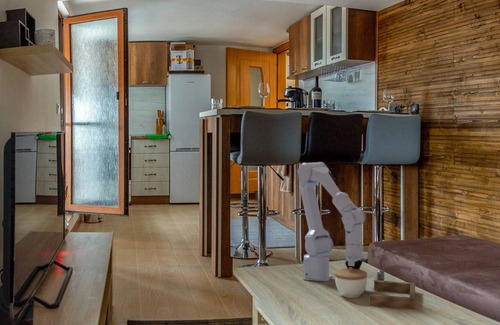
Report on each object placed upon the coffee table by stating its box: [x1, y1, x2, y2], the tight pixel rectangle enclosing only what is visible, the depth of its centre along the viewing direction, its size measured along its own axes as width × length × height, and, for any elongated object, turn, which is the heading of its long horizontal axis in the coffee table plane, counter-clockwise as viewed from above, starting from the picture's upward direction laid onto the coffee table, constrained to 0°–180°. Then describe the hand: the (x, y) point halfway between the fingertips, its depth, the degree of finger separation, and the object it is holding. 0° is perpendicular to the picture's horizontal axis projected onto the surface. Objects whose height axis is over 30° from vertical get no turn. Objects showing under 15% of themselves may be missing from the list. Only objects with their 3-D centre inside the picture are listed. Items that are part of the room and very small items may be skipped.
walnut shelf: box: [369, 279, 416, 310], centre depth 164 cm, size 14×18×3 cm
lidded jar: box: [334, 267, 368, 299], centre depth 168 cm, size 11×11×9 cm
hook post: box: [376, 269, 385, 281], centre depth 175 cm, size 2×4×6 cm, turn 161°
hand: (354, 281), depth 176 cm, fingers closed
